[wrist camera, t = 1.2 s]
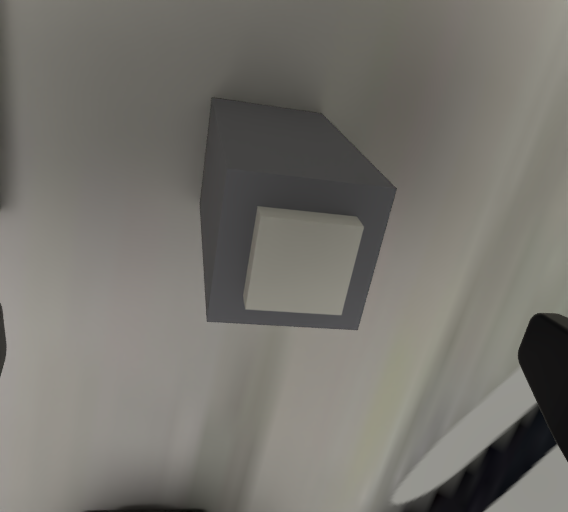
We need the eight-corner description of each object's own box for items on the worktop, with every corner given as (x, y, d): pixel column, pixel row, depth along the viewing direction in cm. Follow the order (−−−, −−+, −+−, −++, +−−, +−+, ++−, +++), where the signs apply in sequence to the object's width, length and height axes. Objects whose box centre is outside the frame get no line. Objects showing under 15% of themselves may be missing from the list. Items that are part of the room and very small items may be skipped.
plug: (301, 214, 21) (364, 343, 14) (199, 204, 21) (207, 335, 13) (321, 113, 20) (405, 197, 12) (211, 97, 19) (228, 177, 11)
